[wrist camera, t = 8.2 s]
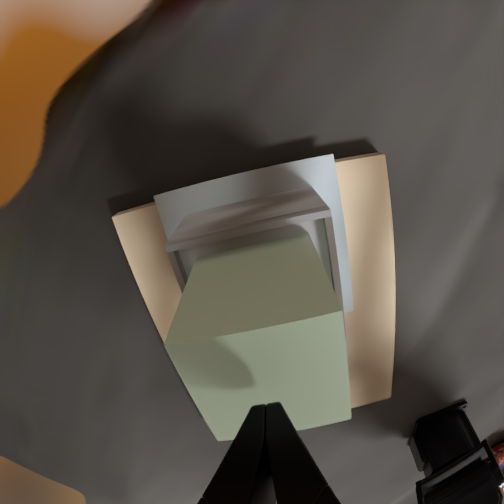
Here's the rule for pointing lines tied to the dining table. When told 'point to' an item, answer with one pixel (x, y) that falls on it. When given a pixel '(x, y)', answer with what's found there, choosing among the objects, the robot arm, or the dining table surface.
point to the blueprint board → (365, 271)
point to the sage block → (262, 336)
